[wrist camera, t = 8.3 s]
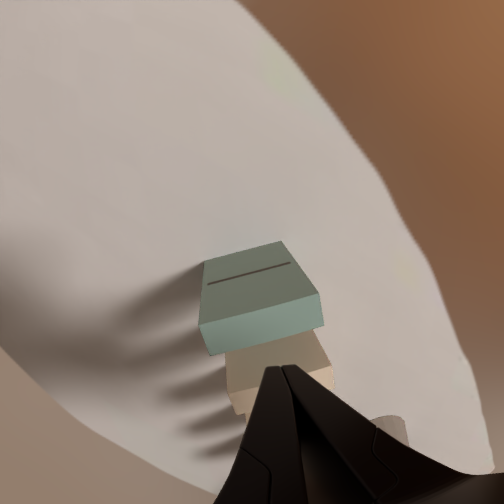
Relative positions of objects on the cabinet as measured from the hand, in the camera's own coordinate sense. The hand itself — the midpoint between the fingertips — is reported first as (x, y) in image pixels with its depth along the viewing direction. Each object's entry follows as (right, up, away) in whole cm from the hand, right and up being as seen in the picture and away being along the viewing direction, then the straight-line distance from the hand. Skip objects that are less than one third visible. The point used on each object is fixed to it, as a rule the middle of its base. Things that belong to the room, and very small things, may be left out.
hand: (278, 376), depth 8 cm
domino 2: (0, -1, +13) cm, 13 cm away
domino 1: (-1, +3, +12) cm, 12 cm away
